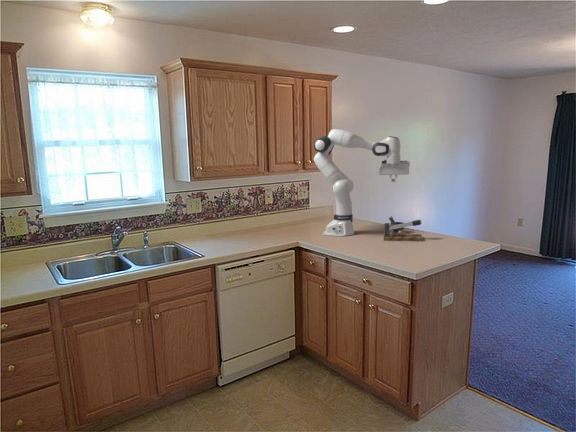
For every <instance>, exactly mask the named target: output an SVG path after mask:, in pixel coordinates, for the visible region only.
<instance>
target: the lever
mask: <svg viewBox="0 0 576 432" xmlns="http://www.w3.org/2000/svg"><path fill="white" fill-rule="evenodd" d="M420 225H422V220H421V219H415V220H412V221H408V222H403V224H397V225H392V226H390V225H389V230H390V231H391V230H392V229H397V228H402V227H404V228H406V227H416V226H420ZM392 231H393V230H392Z"/></svg>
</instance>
